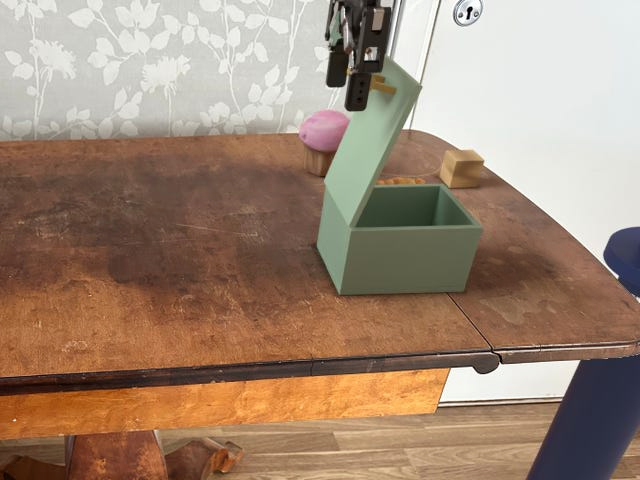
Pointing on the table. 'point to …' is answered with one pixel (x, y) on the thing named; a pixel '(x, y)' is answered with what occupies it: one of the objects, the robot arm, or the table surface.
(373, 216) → the chest
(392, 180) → the pastry
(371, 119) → the lid
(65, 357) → the table surface
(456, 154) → the block
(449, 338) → the table surface
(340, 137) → the cupcake
